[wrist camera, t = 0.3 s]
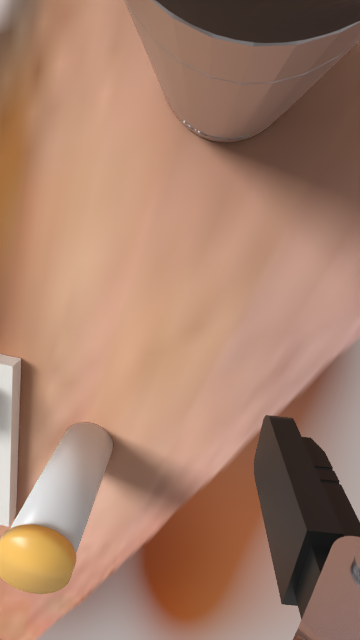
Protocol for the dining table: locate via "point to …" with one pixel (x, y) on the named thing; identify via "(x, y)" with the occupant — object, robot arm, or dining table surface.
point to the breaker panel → (9, 435)
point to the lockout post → (56, 513)
